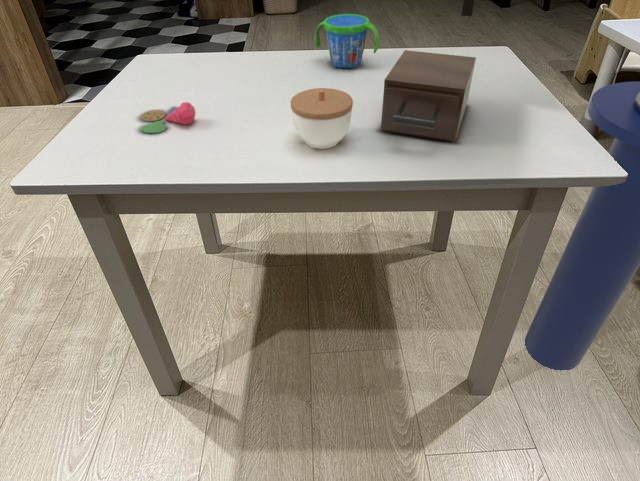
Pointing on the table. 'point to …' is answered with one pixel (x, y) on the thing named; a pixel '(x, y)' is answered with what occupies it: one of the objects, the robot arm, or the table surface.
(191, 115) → the toy pieces
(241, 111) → the table surface
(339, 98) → the trinket box
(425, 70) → the cabinet
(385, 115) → the drawer
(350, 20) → the snack cup
